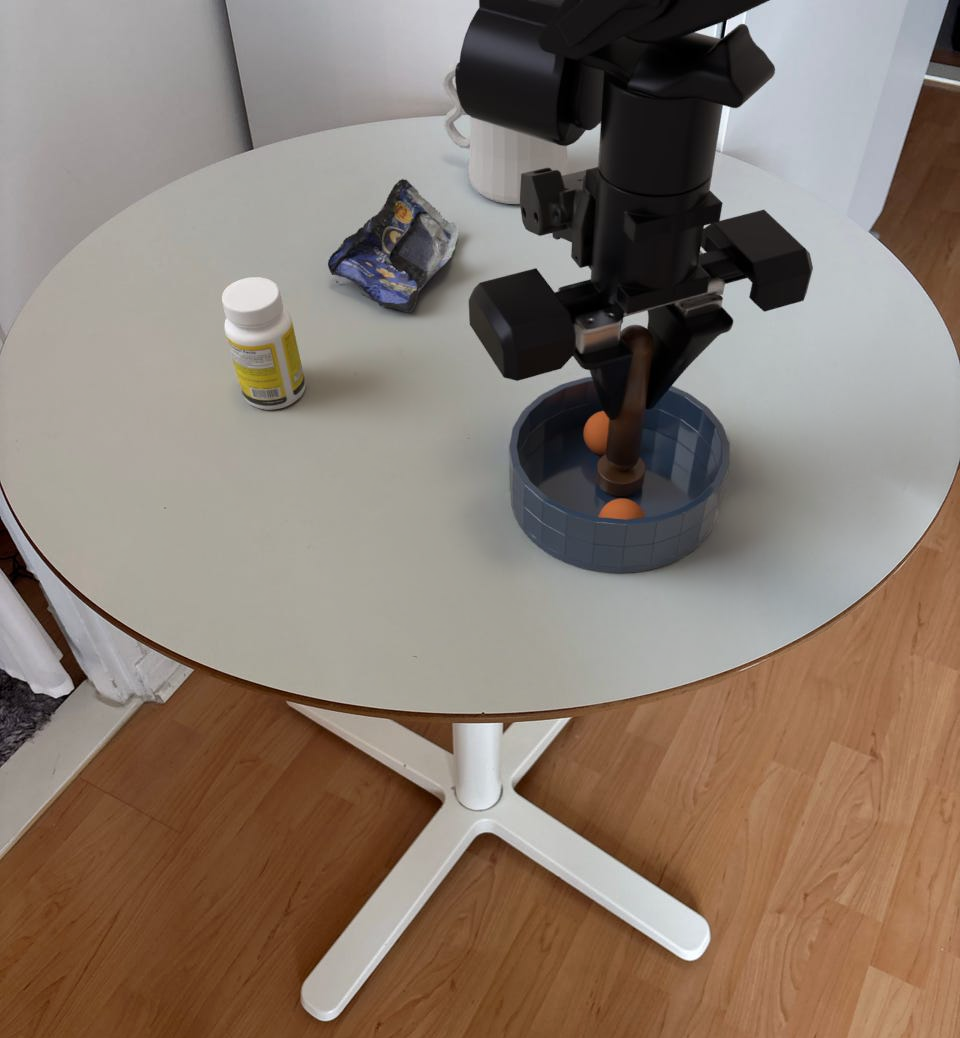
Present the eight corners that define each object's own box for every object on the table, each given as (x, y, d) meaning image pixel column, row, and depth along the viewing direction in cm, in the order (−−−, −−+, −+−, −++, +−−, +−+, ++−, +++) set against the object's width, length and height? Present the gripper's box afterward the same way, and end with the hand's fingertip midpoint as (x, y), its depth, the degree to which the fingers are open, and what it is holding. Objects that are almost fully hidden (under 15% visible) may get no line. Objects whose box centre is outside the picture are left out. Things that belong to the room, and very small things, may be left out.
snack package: (504, 287, 84) (442, 216, 90) (491, 220, 78) (427, 150, 85) (375, 352, 83) (321, 275, 89) (353, 288, 77) (297, 211, 83)
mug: (585, 171, 94) (591, 56, 86) (536, 218, 90) (537, 102, 82) (472, 139, 98) (468, 27, 90) (419, 182, 94) (410, 69, 86)
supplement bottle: (284, 362, 79) (262, 265, 72) (318, 392, 76) (299, 294, 70) (230, 389, 77) (203, 291, 70) (264, 420, 75) (239, 323, 68)
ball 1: (639, 433, 70) (618, 396, 69) (630, 454, 68) (609, 416, 67) (601, 448, 72) (581, 412, 71) (592, 469, 70) (571, 433, 69)
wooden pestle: (645, 465, 69) (665, 313, 60) (642, 498, 67) (663, 347, 58) (597, 461, 69) (610, 309, 60) (594, 494, 68) (606, 343, 58)
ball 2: (641, 504, 66) (658, 508, 63) (627, 548, 66) (643, 554, 64) (600, 491, 65) (615, 493, 62) (585, 536, 66) (599, 540, 63)
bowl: (719, 433, 72) (730, 382, 69) (718, 583, 64) (729, 534, 60) (523, 418, 74) (524, 368, 70) (497, 562, 66) (495, 513, 62)
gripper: (736, 63, 57) (697, 303, 70) (425, 133, 54) (443, 373, 66) (849, 155, 51) (784, 400, 64) (506, 241, 47) (508, 484, 60)
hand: (628, 410), depth 63 cm, fingers closed on wooden pestle, 2 cm apart
